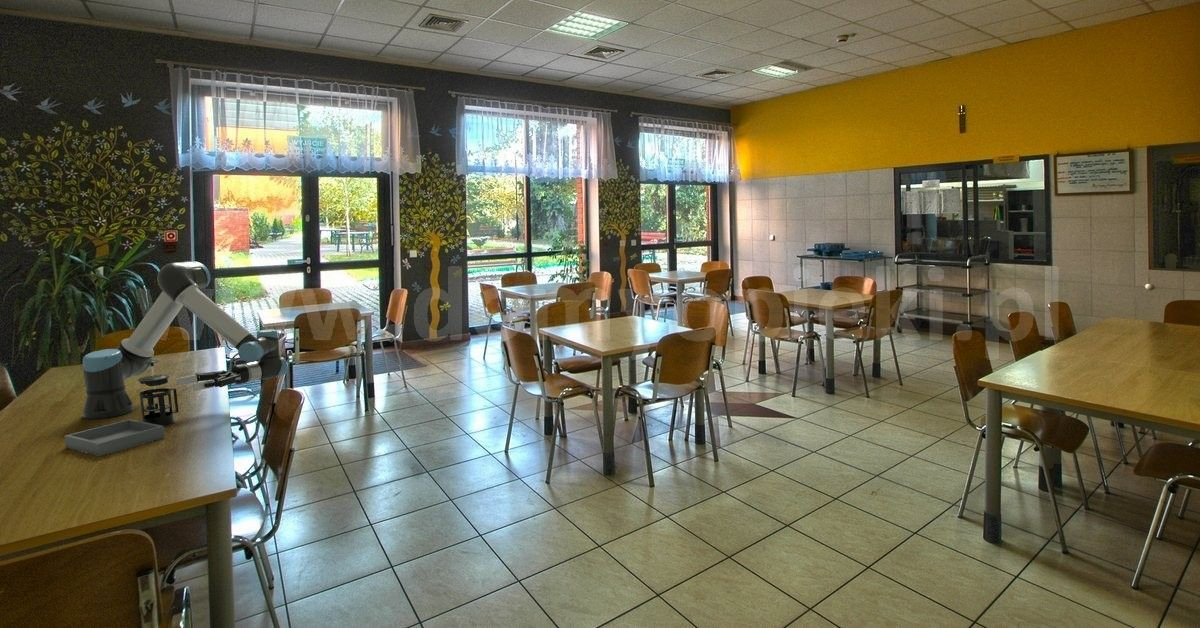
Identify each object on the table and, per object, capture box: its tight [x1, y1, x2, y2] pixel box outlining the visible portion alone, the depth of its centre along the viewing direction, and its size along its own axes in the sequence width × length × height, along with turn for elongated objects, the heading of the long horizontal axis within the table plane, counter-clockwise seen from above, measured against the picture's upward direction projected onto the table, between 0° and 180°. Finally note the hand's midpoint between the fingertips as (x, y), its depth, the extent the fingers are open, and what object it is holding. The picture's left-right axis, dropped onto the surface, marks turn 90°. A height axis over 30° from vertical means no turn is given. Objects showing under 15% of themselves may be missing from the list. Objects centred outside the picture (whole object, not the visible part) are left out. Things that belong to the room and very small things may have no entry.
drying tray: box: [64, 418, 166, 457], centre depth 205 cm, size 19×19×4 cm
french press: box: [137, 359, 179, 427], centre depth 223 cm, size 12×9×23 cm
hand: (185, 384), depth 230 cm, fingers open, 13 cm apart
